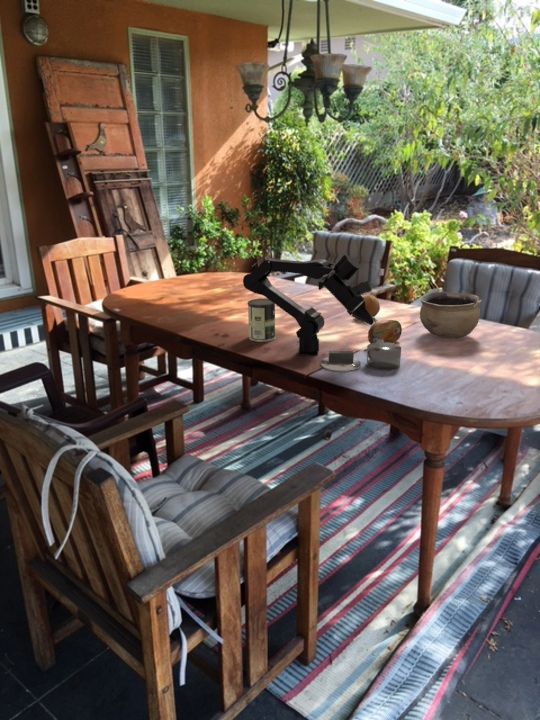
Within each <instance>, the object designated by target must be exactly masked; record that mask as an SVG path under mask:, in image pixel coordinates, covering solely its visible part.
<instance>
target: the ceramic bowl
mask: <svg viewBox="0 0 540 720" xmlns="http://www.w3.org/2000/svg"><path fill="white" fill-rule="evenodd" d="M419 299H420V302H421V304H422V305H421V307H420V311H419V319H420V321H421V324H422V325H423V327H424V329H426V330H427V331H428V332H429V334H431V335H432V336H434V337H436V338H440V339H444V340H445V339H446V340H458V339H463V338H465V337H466V336H468V335H469V334H471V333H472V332H473V330H475V328H476V327H477V326H478V324H479V321H480V318H481V309H480V305H481V303H482V300H481V299H480V297H479V296H478V295H476V294H472V293H461V292H460V293H459V292H450V291H449V292H447V291H439V292H431V293H427V294H425V295H422V296H420V298H419Z"/></svg>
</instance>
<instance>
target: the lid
mask: <svg viewBox="0 0 540 720" xmlns="http://www.w3.org/2000/svg"><path fill="white" fill-rule="evenodd" d="M361 364H362V363H361V360H360V359H358V358H356V357H354V350H328V356H327V357H324V358H323V359H321V361H320V366H321V367H322V368H323V369H325V370H329V371H332V370H333V372H334V371H335V372H351V371H350V370H352V371H355V369H356V370H358V369H360V367H361Z"/></svg>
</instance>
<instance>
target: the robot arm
mask: <svg viewBox="0 0 540 720" xmlns="http://www.w3.org/2000/svg"><path fill="white" fill-rule="evenodd" d="M361 267H362V266H361V264H360V263H359V261H358V260H356V258H353V257H352V256H350V255H348V254H347V253H345V254H343V255H342V256H341V258H340V259H339V261H338V262H337V263H332V262H328V260H326V259H323V258H320V259H311V260H306V261H304V260H290V259H278V258H273V257H269V258H267V259H265V260H263V261H262V263H261V264H259V266H257V267H256V268H255V269H254V270H252V271H251V272H249V273H247V274H245V275H244V276H243V279H242V284H243V287H244V288H245V289H246V290H247V291H250V292H252V293H254V294H258V295H260V296H263V297H265V299H269V300H270V301H272V302H273V303H274V304H275V306H277V307H279V308H280V309H281V310H283V311H284V312H285V313H287V314H288V315H289V316H290V317H293V319H295V321H296V323H297V324H298V326H299V329H298V330H297V331H296V332H295V334H296V336H297V339H298V355H300V356H306V355H307V356H309V355H310V356H313V355H315V356H316V355H318V353H319V351H320V339H319V338H318V334H319V332H320V330H321V329H323V328H324V325H325V318H324V317H323V315H322V312H319V311H317V310H316V309H315V308H314V307H313V306H311V307H310V308H307V309H306V308H304V307H303V306H301V305H300V304H299V303H297V302H296V301H294V300H293V299H292V298H291V297H289V296H287V295H286V294H285V293H284V292H282V291H280V290H279V289H278V288H276V287H275V286H274V285H272V283H271V281H270V279H269V278H268V277H269V276H270V274H271V273H272V272H278V273H288V274H289V273H290V274H300V275H303V276H305V277H307V278H310V279H314V280H319V281H318V282H317V283H318V287H317V288H318V290H319V291H321V290H322V289H324V288H325V289H326V290H327V291H328V292H329V293H330V294H331V295H332V296H333V297H334V299H336V300H337V301H338V302H339V303H340V304H341V305H342V306H343V308H344V309H345V310H346V313H347V314H349V316H351V317H352V318H354V319H357V320H359V321H361V322H364V323H365V324H367V325H369V326H372V325H373V324H375V321H374V319H373V317H371V316H370V314H369V313H368V311H367V310H366V308H365V301H364V298H363V296H362V295H363V294H366V293H369V292H371V291H373V288H372V287H371V285H370V284H371V283H370V282H369V280H366V281H361V282H358V283H357V285H355V286H353V287H352V286H351V285H350V284H349V285H348V284H347V283H346V282H345V281H349V280H351V279H352V277H354V275H356V273H357V272H358V271H359V270H360V269H361ZM331 273H332V274H331ZM329 274H331V275H329ZM324 277H325V278H324ZM322 278H324V279H323V280H320V279H322ZM363 301H364V302H363Z"/></svg>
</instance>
